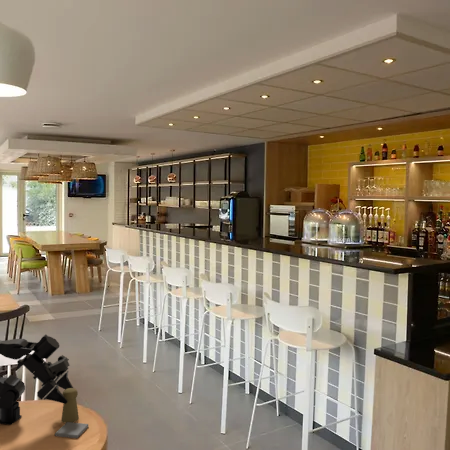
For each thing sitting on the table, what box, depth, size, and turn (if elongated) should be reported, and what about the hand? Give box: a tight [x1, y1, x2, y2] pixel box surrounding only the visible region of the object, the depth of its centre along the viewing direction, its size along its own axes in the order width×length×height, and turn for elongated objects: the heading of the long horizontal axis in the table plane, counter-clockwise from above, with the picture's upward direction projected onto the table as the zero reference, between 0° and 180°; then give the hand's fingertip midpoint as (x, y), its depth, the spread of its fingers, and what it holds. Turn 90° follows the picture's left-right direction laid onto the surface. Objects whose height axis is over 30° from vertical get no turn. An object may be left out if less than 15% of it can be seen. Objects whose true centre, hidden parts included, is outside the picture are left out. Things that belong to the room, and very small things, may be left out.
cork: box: [61, 387, 80, 424], centre depth 165 cm, size 6×6×11 cm
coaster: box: [54, 422, 89, 439], centre depth 156 cm, size 8×8×1 cm
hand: (70, 397), depth 165 cm, fingers open, 9 cm apart
